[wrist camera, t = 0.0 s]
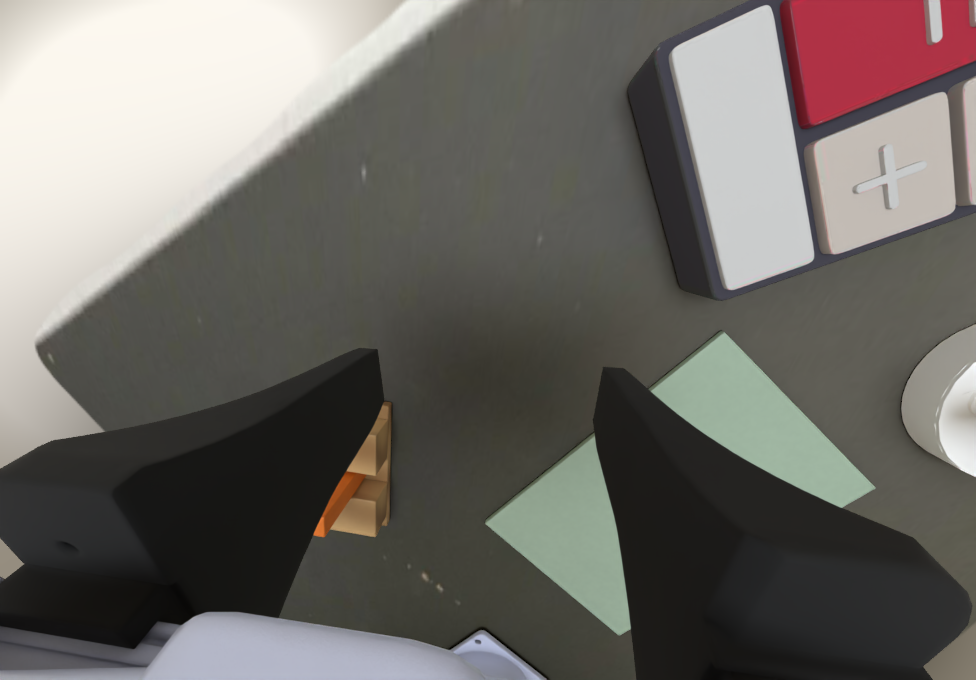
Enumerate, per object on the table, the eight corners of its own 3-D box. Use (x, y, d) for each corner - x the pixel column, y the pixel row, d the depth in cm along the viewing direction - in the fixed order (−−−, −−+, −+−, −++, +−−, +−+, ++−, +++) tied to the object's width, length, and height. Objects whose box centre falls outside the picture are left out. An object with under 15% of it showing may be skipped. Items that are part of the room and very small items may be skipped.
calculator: (1138, 164, 13) (724, 307, 16) (990, 182, 18) (680, 293, 20) (1154, -202, 11) (658, 34, 13) (977, -81, 15) (624, 83, 17)
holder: (389, 520, 27) (375, 549, 25) (290, 503, 28) (266, 529, 25) (392, 402, 24) (376, 421, 22) (280, 385, 25) (252, 402, 22)
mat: (617, 630, 28) (618, 635, 27) (485, 519, 26) (484, 523, 26) (870, 483, 22) (876, 488, 22) (721, 330, 20) (724, 332, 20)
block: (367, 474, 25) (324, 538, 20) (300, 464, 26) (241, 523, 21) (366, 458, 25) (323, 518, 20) (299, 447, 25) (238, 503, 20)
